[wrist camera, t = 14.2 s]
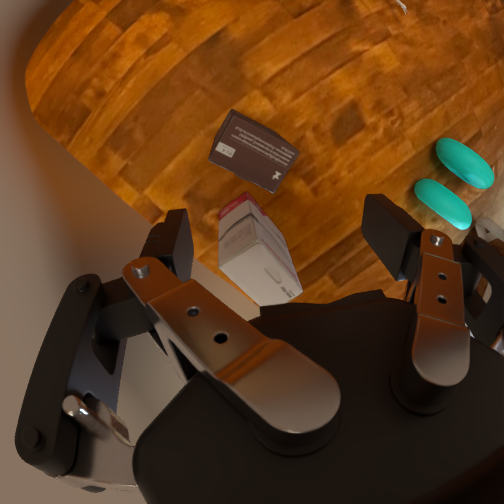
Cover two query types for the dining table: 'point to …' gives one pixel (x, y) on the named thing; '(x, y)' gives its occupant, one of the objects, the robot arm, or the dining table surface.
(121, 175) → the dining table surface
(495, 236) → the mug
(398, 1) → the white dragon
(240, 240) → the ink box
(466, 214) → the turquoise yo-yo
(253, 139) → the box
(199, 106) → the dining table surface
